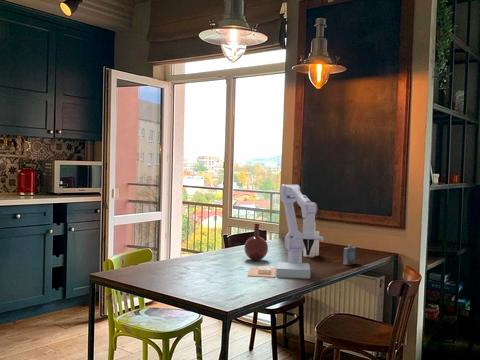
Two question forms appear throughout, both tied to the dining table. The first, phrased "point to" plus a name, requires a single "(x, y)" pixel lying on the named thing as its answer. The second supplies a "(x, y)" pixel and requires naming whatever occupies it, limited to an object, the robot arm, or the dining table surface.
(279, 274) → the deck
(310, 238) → the robot arm
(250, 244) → the round-bottom flask
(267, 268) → the tile
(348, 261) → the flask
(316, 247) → the white tall block
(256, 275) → the mat
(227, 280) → the dining table surface
